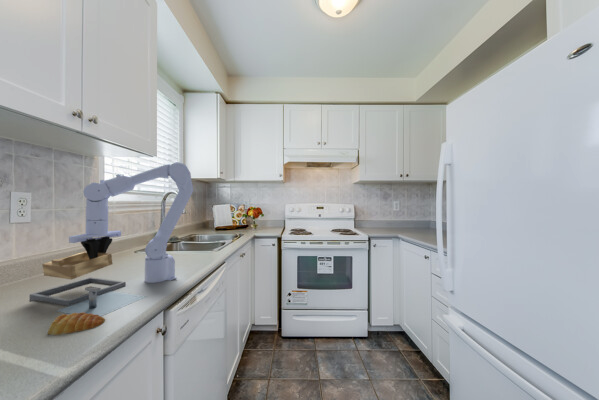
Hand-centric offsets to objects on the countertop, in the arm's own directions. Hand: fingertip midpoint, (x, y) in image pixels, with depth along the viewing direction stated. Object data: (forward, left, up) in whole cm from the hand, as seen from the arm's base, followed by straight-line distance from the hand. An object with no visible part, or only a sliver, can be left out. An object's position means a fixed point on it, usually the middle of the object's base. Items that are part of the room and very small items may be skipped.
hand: (96, 261), depth 79 cm
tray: (+5, 0, -9) cm, 10 cm away
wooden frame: (+5, 0, -1) cm, 5 cm away
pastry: (+19, +22, -10) cm, 30 cm away
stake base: (+9, +16, -9) cm, 20 cm away
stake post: (+12, +16, -9) cm, 21 cm away
